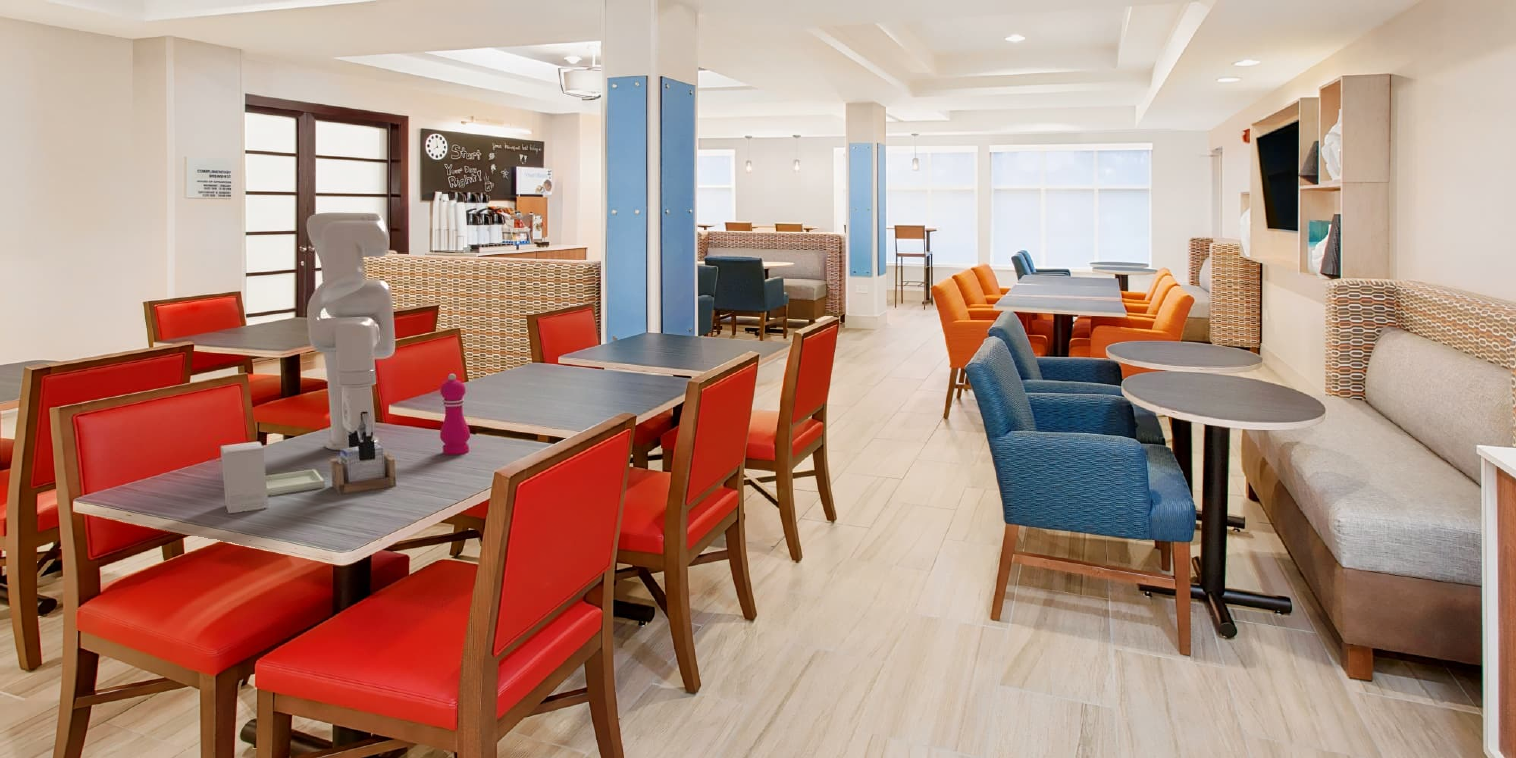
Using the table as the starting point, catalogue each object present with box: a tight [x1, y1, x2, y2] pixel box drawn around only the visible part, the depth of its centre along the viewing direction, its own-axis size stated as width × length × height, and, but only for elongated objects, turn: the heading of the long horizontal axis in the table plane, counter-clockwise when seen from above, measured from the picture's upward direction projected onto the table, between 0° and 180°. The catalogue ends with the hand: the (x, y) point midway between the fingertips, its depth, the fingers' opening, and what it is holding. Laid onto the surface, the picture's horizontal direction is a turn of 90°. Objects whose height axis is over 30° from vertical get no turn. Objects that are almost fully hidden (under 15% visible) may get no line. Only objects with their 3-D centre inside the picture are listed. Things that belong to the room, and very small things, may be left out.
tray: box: [266, 468, 326, 497], centre depth 206 cm, size 11×11×2 cm
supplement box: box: [220, 441, 269, 514], centre depth 190 cm, size 7×7×13 cm
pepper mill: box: [439, 373, 471, 456], centre depth 235 cm, size 7×7×20 cm
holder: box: [329, 451, 397, 495], centre depth 206 cm, size 8×12×6 cm, turn 125°
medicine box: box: [339, 444, 385, 483], centre depth 206 cm, size 8×4×9 cm, turn 133°
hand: (362, 455), depth 205 cm, fingers open, 9 cm apart
